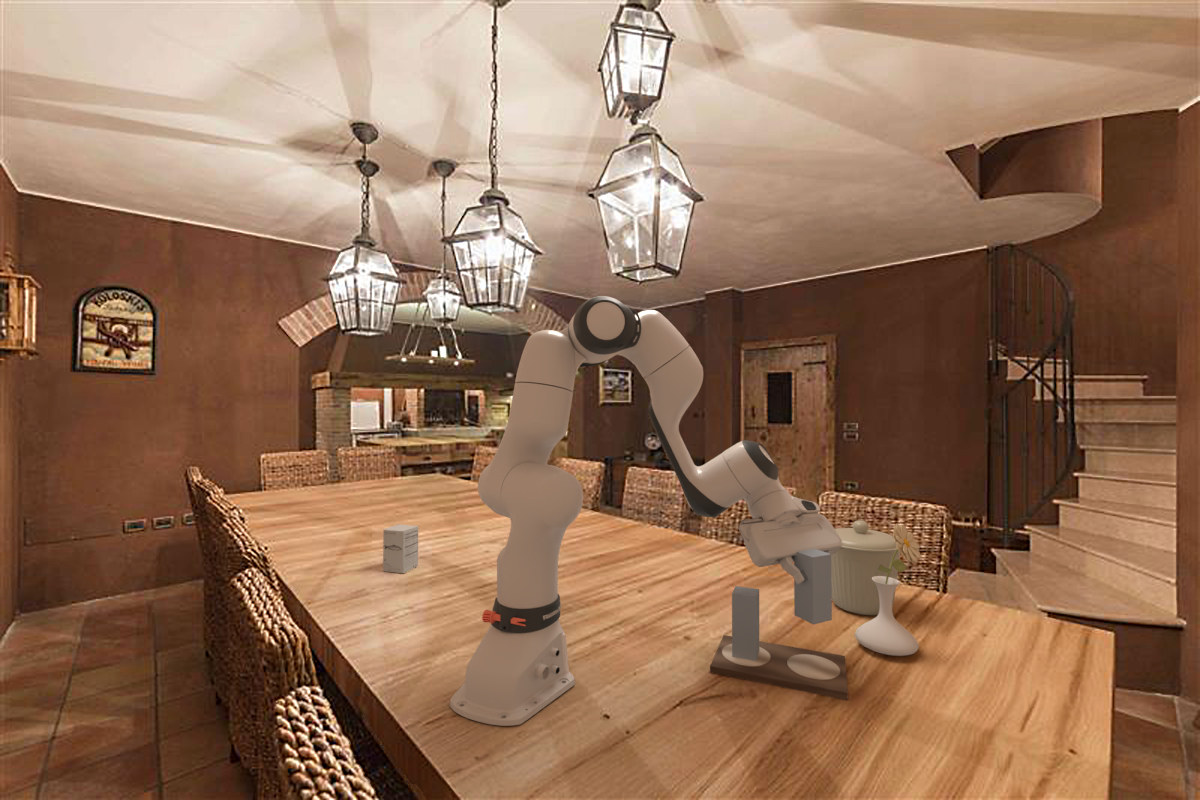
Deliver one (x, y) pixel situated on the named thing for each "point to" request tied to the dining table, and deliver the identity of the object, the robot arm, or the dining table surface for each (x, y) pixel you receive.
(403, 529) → the supplement box
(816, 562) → the gray rectangular block
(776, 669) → the board
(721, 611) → the dining table surface
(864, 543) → the canister
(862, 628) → the flower in vase
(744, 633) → the pin
